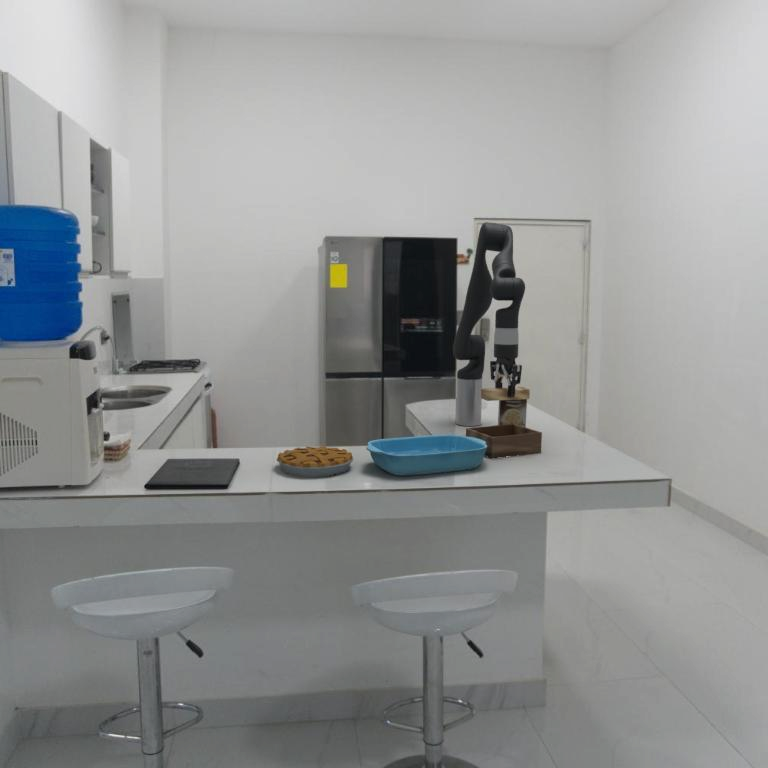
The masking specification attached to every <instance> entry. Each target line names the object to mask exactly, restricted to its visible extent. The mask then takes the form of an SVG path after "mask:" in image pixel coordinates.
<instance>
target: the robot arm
mask: <svg viewBox="0 0 768 768" xmlns="http://www.w3.org/2000/svg"><path fill="white" fill-rule="evenodd" d="M479 228H480V229H479V233H478V236H477V243H476V249H475V256H474V261H473V267H472V271H471V274H470V279H469V282H468V287H467V289H466V290H467V291H466V295H465V301H464V305H463V310H462V313H461V318H460V321H459V325H458V328H457V330H456V334H455V336H454V340H453V345H452V354H453V356H454V358H455V359H456V360H458V361H468V364H466V365H465V366H464V367H462V368H460V369H458V370H457V371H456V372H457V373H456V396H455V397H456V398H455V414H454V415H455V416H454V417H455V418H454V419H455V420H454V421H455V423H456V425H459V426H463V427H479V426H481V425H482V407H483V406H482V398H481V389H483V374H484V371H485V361H486V360H485V358H486V343H485V342H486V341H485V339H484V337H483V336H482V335H481V334H472V333H473V330H474V328H475V326H476V325H477V324H478V322H479V321H480V320H481V319H482V318H483V317H484V316H485V314H486V313H487V311H489V309H490V307H491V305H492V302H493V299H494V300H495V301H499V302H500V301H506V302H507V301H510V302H511V304H510V305H509V306H507V307H502V308H499V309H496V311H495V320H494V322H495V327H494V328H495V329H494V334H493V357H494V358H495V359H496V360H491V361H490V362H489V368H490V371H489V372H490V379H491V380H492V381H493V382H494V383H495V384H494V386H495V387H494V388H503V380H504V378H505V379H506V380H507V388H508V397H510V398H511V397H515V387H517V385H520V384H521V379H522V371H523V370H522V369H523V366H522V364H517V363H516V359H517V358H518V357H519V341H520V340H519V335H520V334H519V315H520V308H521V304H522V301H523V298H524V295H525V292H526V284H525V282H524V280H523V279H522V278H520V277H516V276H517V274H516V268H515V263H514V234H513V233H514V232H513V229H512V228H511V226H510V225H506V224H502V223H495V222H489V221H488V222H486V221H485V222H483V223H482V224H481V226H480V227H479ZM487 251H491V252H497V255H495V257H494V258H493V260H492V262H491V270H492V275H491V273H490V270H489V267H488V264H487V260H486V253H487ZM492 277H493V278H492Z"/></svg>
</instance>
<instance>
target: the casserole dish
mask: <svg viewBox="0 0 768 768" xmlns="http://www.w3.org/2000/svg"><path fill="white" fill-rule="evenodd" d="M486 449H487V445H486V442H485V441H483V440H481V439H478V438H473V437H467V436H466V435H461V434H432V435H430V434H429V435H419V436H418V435H417V436H405V437H404V436H403V437H402V436H401V437H393V438H382V439H374V440H370V441H368V442H367V446H366V450H367V451H368V452H369V453H370V456H371V459H372V462H373V463H374V464H375V465H377V466H378V467H379V468H380V469H381V470H384V471H385V472H387V473H388V474H390V475H394V476H399V477H400V476H402V477H403V476H406V477H407V476H418V475H428V474H429V475H430V474H439V473H440V474H441V473H442V472H443V473H450V472H451V471H452V472H460V470H461V471H467V470H466V469H468V470H473V469H472V468H474V469H476V468H477V467H478V466H479V465H481V463H482V462H483V460H484V458H485V456H484V455H485V452H486ZM475 467H476V468H475Z"/></svg>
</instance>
